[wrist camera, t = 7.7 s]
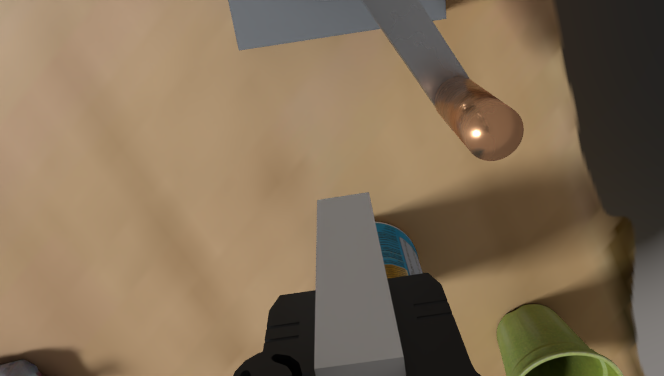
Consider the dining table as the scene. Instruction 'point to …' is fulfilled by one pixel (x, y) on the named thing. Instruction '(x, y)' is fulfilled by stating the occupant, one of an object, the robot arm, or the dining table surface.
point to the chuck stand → (305, 19)
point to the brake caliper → (19, 369)
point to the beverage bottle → (397, 251)
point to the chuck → (448, 80)
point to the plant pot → (546, 346)
